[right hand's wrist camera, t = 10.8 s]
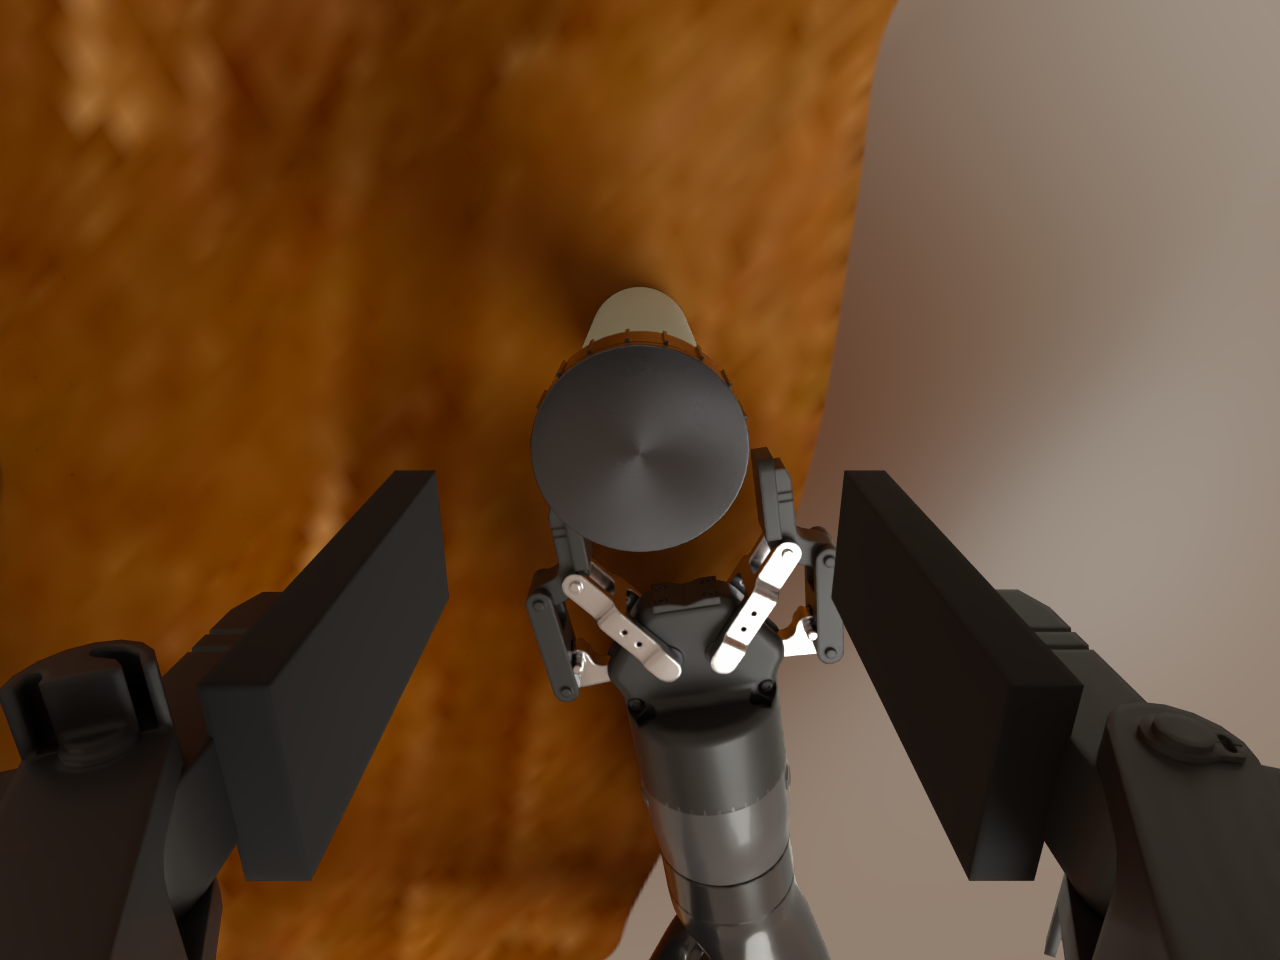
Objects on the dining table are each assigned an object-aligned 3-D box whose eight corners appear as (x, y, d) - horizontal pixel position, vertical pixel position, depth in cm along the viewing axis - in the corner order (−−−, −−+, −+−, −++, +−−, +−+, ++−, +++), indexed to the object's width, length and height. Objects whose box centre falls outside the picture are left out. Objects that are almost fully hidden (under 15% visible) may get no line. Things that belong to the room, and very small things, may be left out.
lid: (539, 322, 20) (527, 336, 18) (752, 334, 20) (765, 349, 18) (537, 516, 22) (526, 548, 20) (731, 526, 22) (740, 559, 20)
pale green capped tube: (592, 283, 35) (550, 353, 18) (692, 289, 35) (739, 363, 18) (589, 382, 36) (547, 527, 20) (684, 388, 36) (721, 535, 20)
